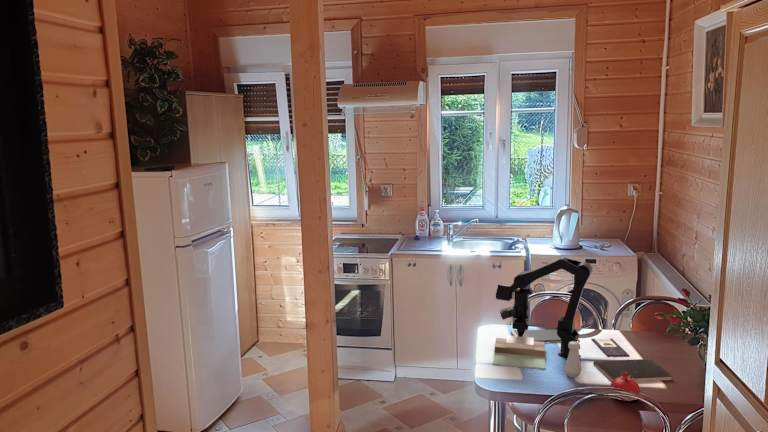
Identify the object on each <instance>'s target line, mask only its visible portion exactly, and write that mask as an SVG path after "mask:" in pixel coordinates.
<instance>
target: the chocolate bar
mask: <svg viewBox="0 0 768 432" xmlns="http://www.w3.org/2000/svg"><path fill="white" fill-rule="evenodd" d="M591 342H593V343H594V345H595V346H597V347H598V348H599V350H600V351H602V354H604V355H605V356H606V357H609V358H611V357H615V358H616V357H618V358H619V357H630V354H629V353H628V352H627V351H626V350H625V349H623V347H621V346H620V345H619V344H618V343H617V342H616V341H615V340H614V339H613V338H591Z"/></svg>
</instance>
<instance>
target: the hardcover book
mask: <svg viewBox="0 0 768 432" xmlns="http://www.w3.org/2000/svg"><path fill="white" fill-rule="evenodd" d="M593 366H595V367H596V368H597V370H599V371H600V373H602V374H603V375H604V376H605V377H606V378H607V379H608V380H609V381H610V382H612V381H613V380H615V379H617V378H615V377H621V376H622V375H620V374H623V375H624V376H625V374H624V372H627V377H628V376H630V375H631V376H632V377H631V376H630V377H629V378H635V379H634V380H635V382H651V381H671V380H672V378H673V375H672V374H671V373H669V372H668V371H667V370H666V369H664V368H663V367H662V366H661V365H659V364H658V363H656V362H655V360H653V359H651V358H643V359H642V358H640V359H618V360H615V359H613V360H594V361H593ZM637 379H638V380H637Z"/></svg>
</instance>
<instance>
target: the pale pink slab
mask: <svg viewBox="0 0 768 432" xmlns="http://www.w3.org/2000/svg"><path fill="white" fill-rule="evenodd" d="M505 337H506V338H505V339H506V347H509V348H521V349H533V350H534V338H531V337H518V336H513V335H506V336H505Z"/></svg>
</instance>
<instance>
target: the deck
mask: <svg viewBox="0 0 768 432" xmlns="http://www.w3.org/2000/svg"><path fill="white" fill-rule="evenodd" d="M545 344H546V343H545V342H540V341H534V350H533V349H521V348H509V347H506V338H501V337H496V338H495V342H494V353H505V354H517V355H528V356H540V357H545V358H546V345H545Z"/></svg>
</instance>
